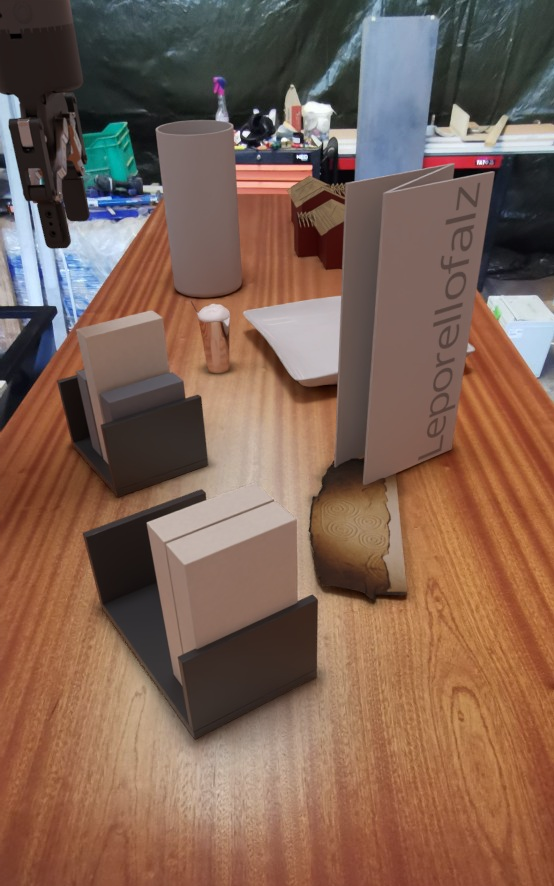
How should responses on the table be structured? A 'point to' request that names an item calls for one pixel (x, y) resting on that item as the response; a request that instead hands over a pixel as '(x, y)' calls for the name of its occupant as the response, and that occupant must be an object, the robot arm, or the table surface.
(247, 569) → the book holder
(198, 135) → the cylinder vase
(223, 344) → the milkshake
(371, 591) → the parchment
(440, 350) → the brochure
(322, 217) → the toy houses
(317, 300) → the square plate
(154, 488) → the table surface
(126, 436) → the grey rack
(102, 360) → the white book
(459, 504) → the table surface
